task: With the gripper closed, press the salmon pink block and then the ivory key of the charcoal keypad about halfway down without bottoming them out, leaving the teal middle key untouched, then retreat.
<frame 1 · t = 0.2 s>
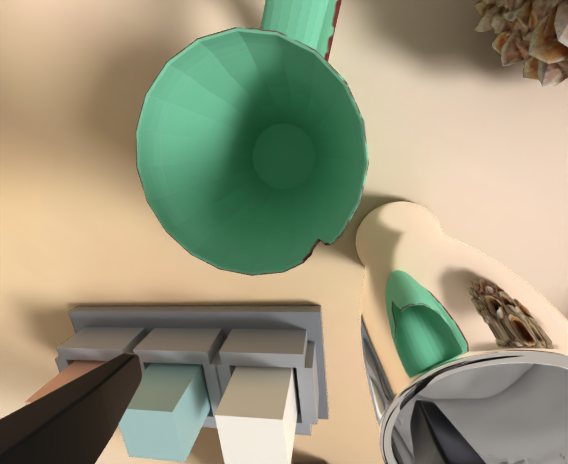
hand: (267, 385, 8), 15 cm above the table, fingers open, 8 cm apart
key ivory: (261, 411, 21), point 5 cm above the table, slide at 0.0 cm
keypad base: (199, 356, 28), on the table
key teal: (168, 405, 23), point 5 cm above the table, slide at 0.0 cm
salmon pink block: (86, 399, 24), point 6 cm above the table, slide at 0.0 cm
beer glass: (396, 239, 22), on the table, touching gripper
mug: (293, 123, 21), on the table
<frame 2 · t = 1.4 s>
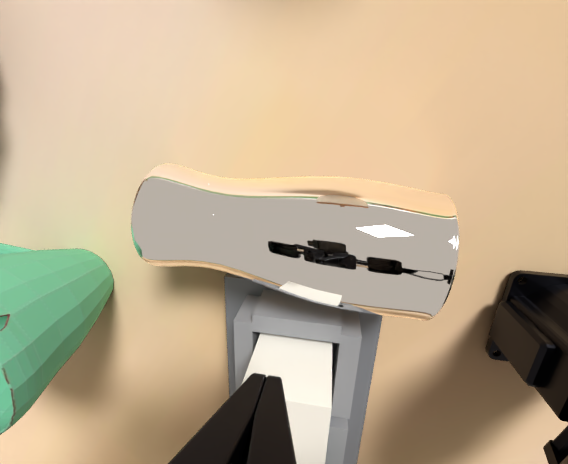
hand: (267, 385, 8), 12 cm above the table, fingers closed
key ivory: (289, 391, 17), point 5 cm above the table, slide at 0.0 cm
keypad base: (295, 403, 24), on the table
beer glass: (161, 214, 17), point 3 cm above the table
mug: (62, 261, 24), on the table
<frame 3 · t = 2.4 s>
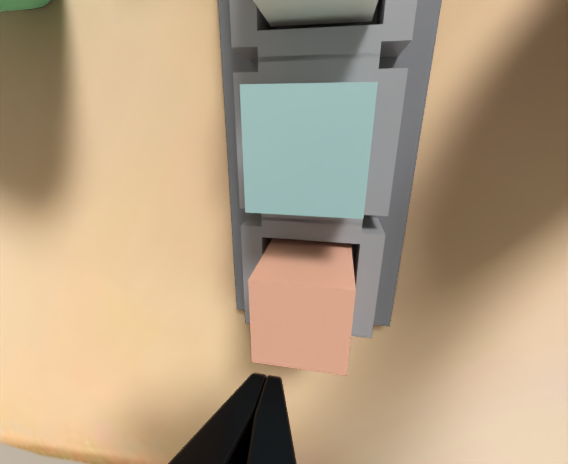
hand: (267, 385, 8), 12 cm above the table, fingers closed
keypad base: (318, 142, 18), on the table
key teal: (310, 149, 12), point 5 cm above the table, slide at 0.0 cm
salmon pink block: (305, 298, 15), point 5 cm above the table, slide at 0.0 cm
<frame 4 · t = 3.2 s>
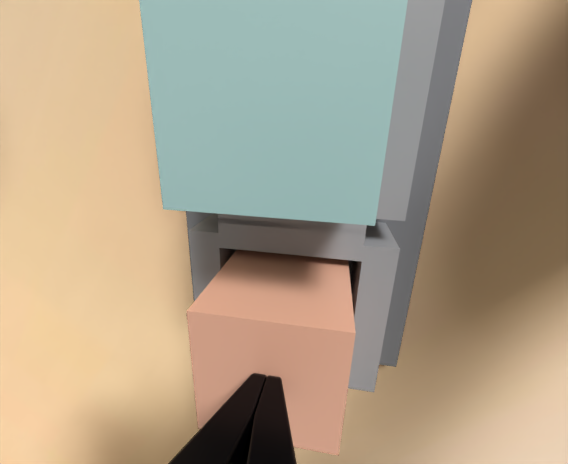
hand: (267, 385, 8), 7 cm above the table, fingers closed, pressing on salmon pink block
keypad base: (305, 117, 13), on the table
key teal: (285, 108, 8), point 5 cm above the table, slide at 0.0 cm
salmon pink block: (281, 330, 11), point 5 cm above the table, slide at 0.6 cm, touching gripper
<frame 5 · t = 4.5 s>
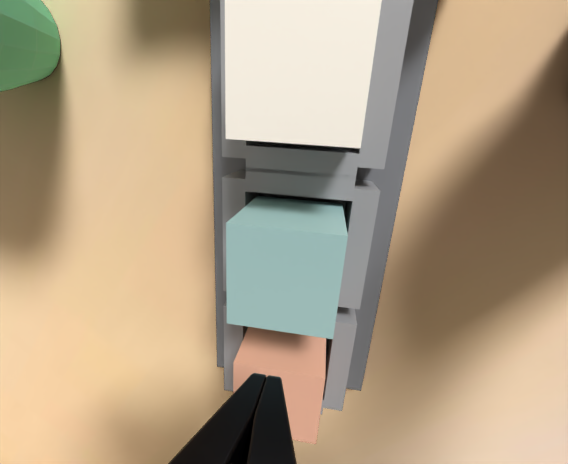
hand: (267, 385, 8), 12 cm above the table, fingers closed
key ivory: (303, 80, 11), point 5 cm above the table, slide at 0.0 cm
keypad base: (300, 223, 19), on the table
key teal: (290, 257, 14), point 5 cm above the table, slide at 0.0 cm
salmon pink block: (283, 367, 17), point 5 cm above the table, slide at 0.9 cm
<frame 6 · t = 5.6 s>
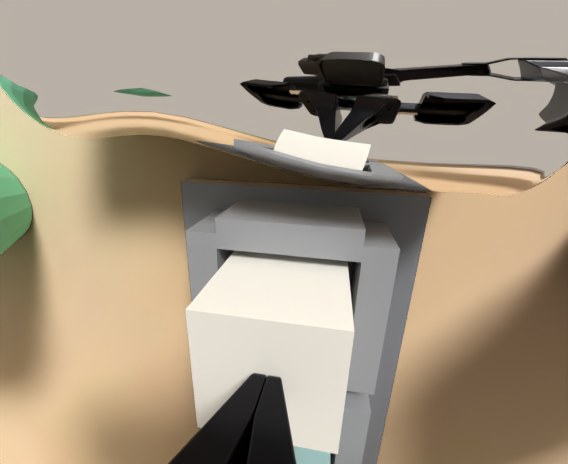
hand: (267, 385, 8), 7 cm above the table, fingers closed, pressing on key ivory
key ivory: (280, 329, 11), point 5 cm above the table, slide at 0.7 cm, touching gripper
keypad base: (291, 380, 18), on the table
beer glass: (62, 47, 10), point 3 cm above the table
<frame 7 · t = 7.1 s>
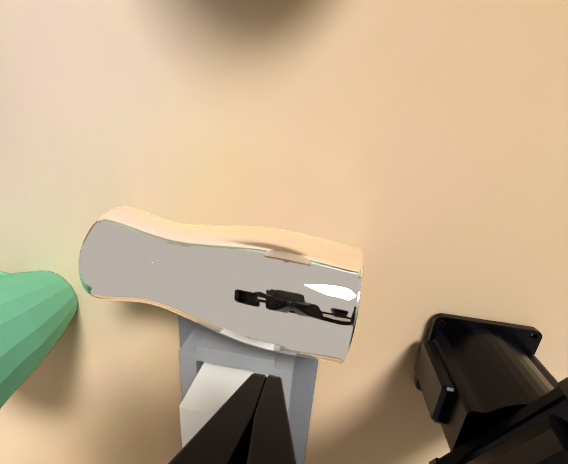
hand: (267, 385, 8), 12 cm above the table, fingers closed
key ivory: (230, 404, 19), point 5 cm above the table, slide at 0.9 cm
keypad base: (247, 420, 26), on the table
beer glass: (114, 251, 19), point 3 cm above the table
mug: (30, 281, 25), on the table
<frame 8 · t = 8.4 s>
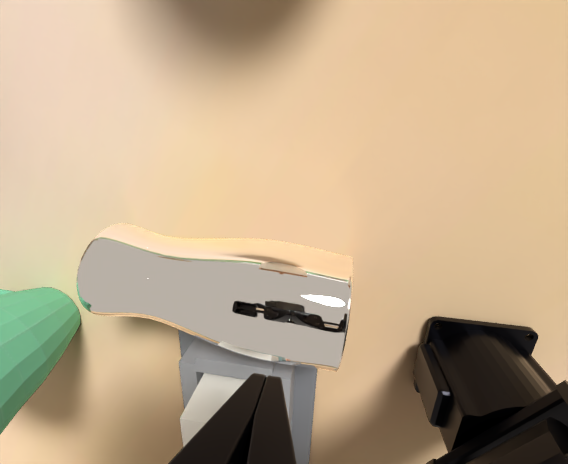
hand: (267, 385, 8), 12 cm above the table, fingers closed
key ivory: (231, 413, 20), point 5 cm above the table, slide at 0.9 cm
keypad base: (250, 427, 26), on the table
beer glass: (112, 267, 19), point 3 cm above the table
mug: (33, 297, 26), on the table
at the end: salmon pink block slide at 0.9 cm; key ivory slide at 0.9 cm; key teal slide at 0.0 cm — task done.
